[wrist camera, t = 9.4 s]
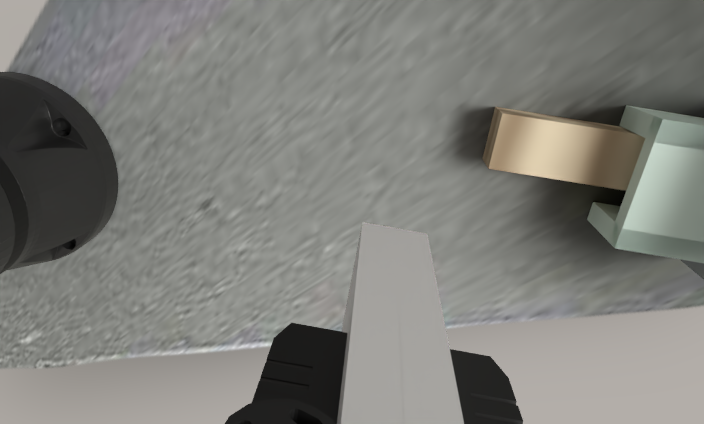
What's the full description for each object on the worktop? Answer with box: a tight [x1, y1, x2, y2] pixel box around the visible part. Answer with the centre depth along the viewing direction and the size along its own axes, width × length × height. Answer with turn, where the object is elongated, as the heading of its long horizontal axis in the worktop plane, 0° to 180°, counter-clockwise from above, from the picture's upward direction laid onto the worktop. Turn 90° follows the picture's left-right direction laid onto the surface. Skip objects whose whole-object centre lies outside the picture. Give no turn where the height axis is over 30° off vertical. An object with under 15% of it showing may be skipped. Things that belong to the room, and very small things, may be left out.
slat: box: [483, 107, 645, 191], centre depth 38 cm, size 14×4×3 cm, turn 82°
